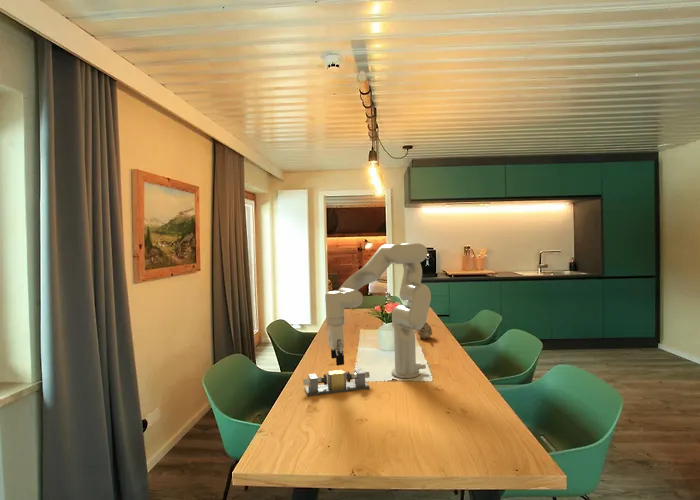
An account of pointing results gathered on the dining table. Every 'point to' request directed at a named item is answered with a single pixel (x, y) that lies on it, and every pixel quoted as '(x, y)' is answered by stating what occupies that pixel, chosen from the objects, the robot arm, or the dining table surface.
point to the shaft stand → (324, 389)
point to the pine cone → (425, 331)
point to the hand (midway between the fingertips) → (337, 361)
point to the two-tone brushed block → (336, 379)
